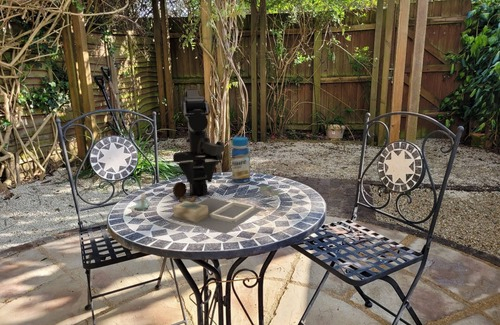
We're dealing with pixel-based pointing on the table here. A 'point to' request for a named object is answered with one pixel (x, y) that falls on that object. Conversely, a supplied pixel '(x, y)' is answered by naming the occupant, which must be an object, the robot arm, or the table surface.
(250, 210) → the mat
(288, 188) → the table surface
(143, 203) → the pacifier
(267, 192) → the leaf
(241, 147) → the beverage bottle
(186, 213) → the slab
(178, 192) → the compass
